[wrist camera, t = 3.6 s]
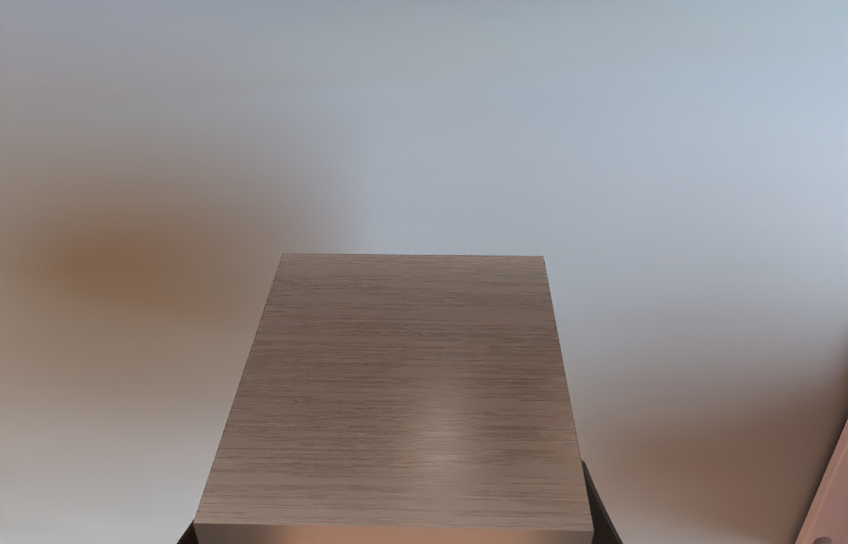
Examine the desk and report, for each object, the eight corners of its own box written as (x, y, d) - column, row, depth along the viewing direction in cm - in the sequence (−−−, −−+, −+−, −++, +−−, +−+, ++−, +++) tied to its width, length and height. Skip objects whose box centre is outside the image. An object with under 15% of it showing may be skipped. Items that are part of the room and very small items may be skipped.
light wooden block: (515, 544, 16) (538, 829, 12) (316, 540, 16) (269, 821, 12) (543, 256, 12) (593, 530, 8) (277, 253, 12) (185, 523, 8)
